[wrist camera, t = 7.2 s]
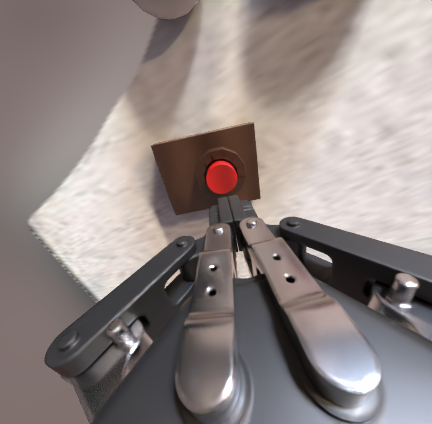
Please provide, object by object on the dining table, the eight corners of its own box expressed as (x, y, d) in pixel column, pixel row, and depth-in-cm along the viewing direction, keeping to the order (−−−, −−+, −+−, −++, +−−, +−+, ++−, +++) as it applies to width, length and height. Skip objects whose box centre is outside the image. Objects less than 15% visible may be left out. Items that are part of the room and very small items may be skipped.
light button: (209, 191, 25) (209, 196, 23) (203, 163, 23) (202, 167, 21) (237, 185, 25) (239, 190, 23) (232, 157, 23) (234, 160, 21)
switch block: (178, 208, 31) (173, 221, 27) (155, 143, 26) (146, 147, 22) (256, 192, 30) (263, 203, 26) (249, 122, 25) (257, 122, 21)
